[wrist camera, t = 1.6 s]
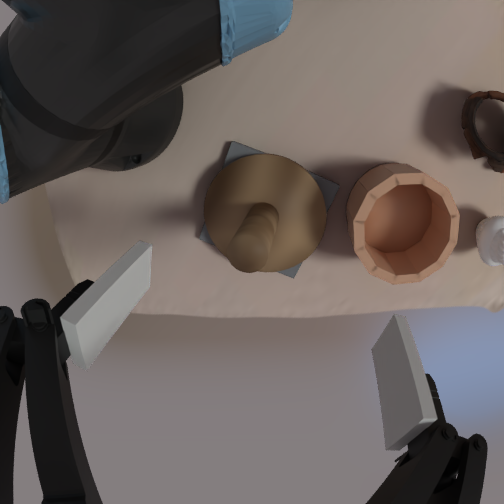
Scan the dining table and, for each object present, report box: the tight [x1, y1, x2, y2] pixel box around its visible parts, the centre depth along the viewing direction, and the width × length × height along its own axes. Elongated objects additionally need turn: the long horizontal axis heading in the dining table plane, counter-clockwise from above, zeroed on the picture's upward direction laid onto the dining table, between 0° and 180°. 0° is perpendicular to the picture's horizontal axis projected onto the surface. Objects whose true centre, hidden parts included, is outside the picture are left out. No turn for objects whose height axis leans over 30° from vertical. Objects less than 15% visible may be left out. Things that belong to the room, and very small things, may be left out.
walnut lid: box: [204, 154, 326, 273], centre depth 27 cm, size 13×13×10 cm
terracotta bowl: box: [346, 163, 460, 285], centre depth 27 cm, size 11×11×6 cm
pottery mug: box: [462, 91, 504, 173], centre depth 20 cm, size 12×10×8 cm
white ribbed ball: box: [476, 216, 504, 266], centre depth 25 cm, size 6×6×7 cm
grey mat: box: [199, 141, 340, 278], centre depth 32 cm, size 12×12×1 cm
